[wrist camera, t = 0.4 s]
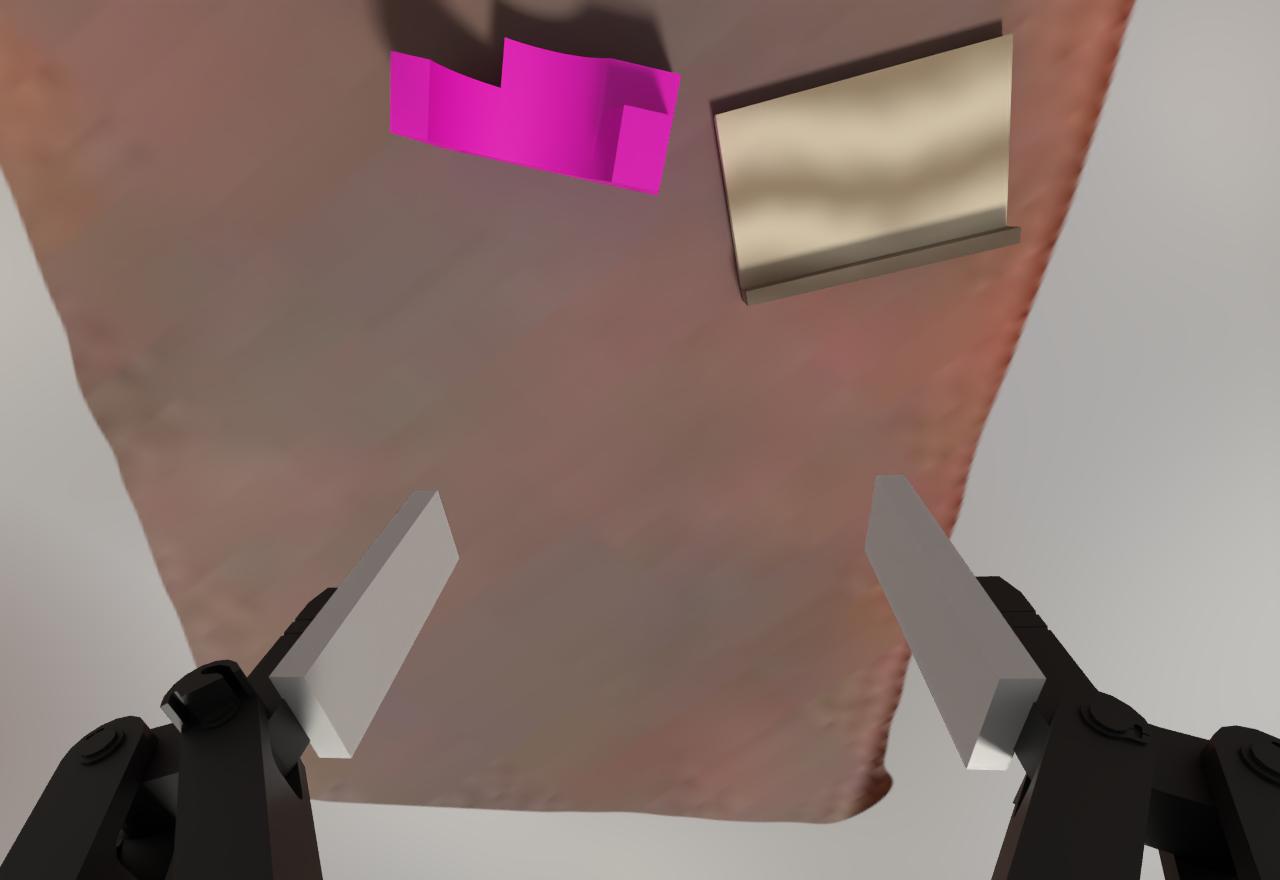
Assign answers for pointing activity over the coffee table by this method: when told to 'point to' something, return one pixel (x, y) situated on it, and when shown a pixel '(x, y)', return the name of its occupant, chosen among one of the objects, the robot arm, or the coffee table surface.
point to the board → (870, 173)
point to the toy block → (544, 113)
